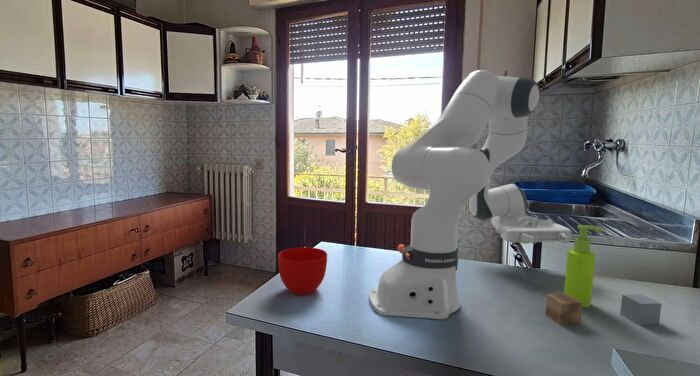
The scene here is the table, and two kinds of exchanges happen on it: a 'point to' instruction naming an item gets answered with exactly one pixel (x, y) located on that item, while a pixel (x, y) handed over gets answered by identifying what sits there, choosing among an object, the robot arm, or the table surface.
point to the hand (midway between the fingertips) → (550, 240)
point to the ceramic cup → (302, 269)
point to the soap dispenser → (580, 267)
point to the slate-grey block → (640, 309)
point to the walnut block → (563, 309)
